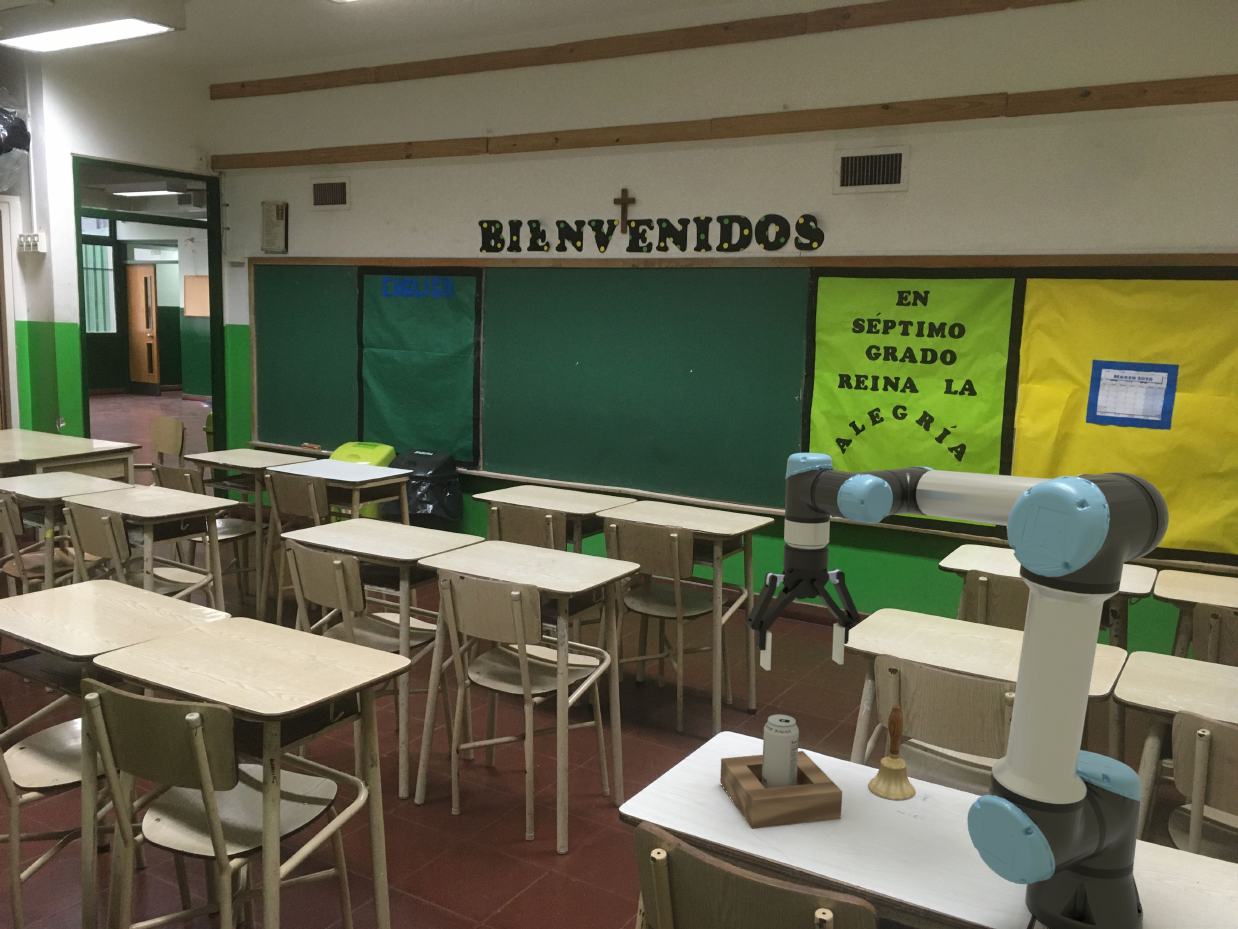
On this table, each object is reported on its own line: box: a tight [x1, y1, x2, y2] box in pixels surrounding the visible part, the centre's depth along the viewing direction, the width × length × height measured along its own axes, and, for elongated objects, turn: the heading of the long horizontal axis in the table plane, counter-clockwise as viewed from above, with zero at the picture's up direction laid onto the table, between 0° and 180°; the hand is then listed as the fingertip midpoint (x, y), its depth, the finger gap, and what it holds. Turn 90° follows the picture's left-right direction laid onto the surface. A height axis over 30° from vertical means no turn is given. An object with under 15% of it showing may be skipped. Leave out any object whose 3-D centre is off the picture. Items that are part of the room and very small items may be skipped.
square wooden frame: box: [719, 750, 843, 829], centre depth 170 cm, size 16×16×5 cm
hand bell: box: [867, 704, 917, 801], centre depth 175 cm, size 8×8×16 cm
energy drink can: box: [762, 714, 800, 788], centre depth 170 cm, size 6×6×15 cm
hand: (801, 665), depth 167 cm, fingers open, 13 cm apart
